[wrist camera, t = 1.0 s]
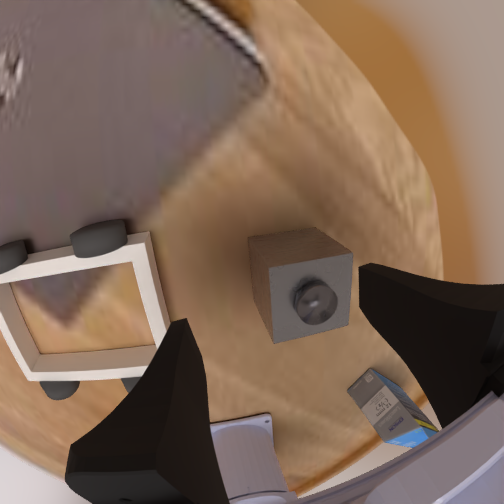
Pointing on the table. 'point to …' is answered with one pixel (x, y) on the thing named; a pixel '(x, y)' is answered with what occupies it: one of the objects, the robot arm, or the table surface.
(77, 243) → the chassis
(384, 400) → the label tape box
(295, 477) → the table surface
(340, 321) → the engine block
